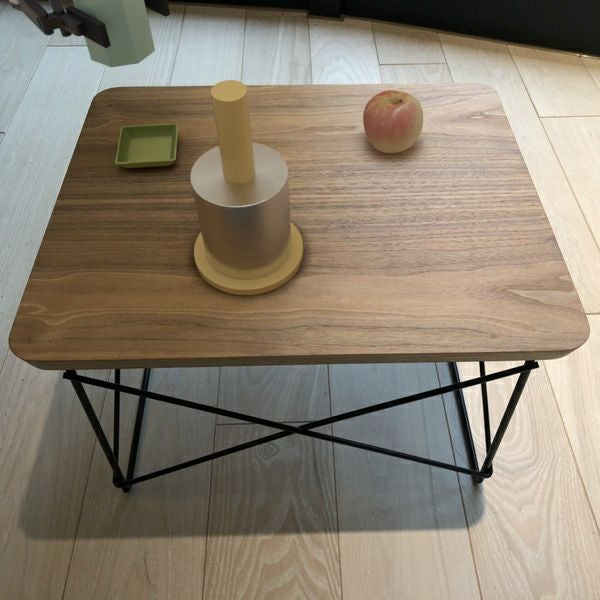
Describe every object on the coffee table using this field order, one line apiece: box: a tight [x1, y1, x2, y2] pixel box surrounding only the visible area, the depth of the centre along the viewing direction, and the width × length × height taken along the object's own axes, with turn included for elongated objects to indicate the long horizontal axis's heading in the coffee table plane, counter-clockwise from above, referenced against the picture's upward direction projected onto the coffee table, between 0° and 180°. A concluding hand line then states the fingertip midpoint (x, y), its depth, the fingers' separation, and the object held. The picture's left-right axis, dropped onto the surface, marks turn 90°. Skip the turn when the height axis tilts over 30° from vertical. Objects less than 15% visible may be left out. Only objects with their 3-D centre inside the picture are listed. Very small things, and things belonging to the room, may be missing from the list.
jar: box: [72, 0, 156, 68], centre depth 75 cm, size 8×8×10 cm
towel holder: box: [189, 79, 304, 296], centre depth 70 cm, size 14×14×24 cm
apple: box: [362, 89, 424, 154], centre depth 89 cm, size 9×9×8 cm
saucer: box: [114, 123, 179, 169], centre depth 91 cm, size 9×9×2 cm
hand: (136, 19), depth 72 cm, fingers closed on jar, 8 cm apart
